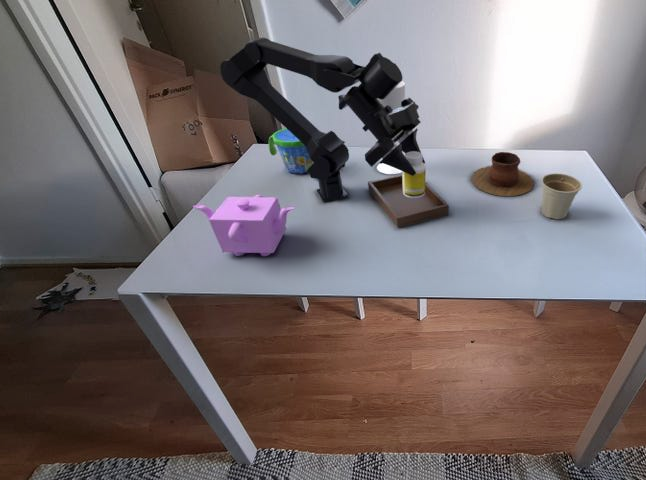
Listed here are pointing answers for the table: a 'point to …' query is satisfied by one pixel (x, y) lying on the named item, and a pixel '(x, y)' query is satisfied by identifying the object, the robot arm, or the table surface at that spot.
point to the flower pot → (558, 194)
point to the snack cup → (290, 151)
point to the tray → (406, 202)
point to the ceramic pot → (503, 176)
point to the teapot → (248, 224)
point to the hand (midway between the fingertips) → (419, 169)
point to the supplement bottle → (416, 183)
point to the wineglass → (394, 102)
